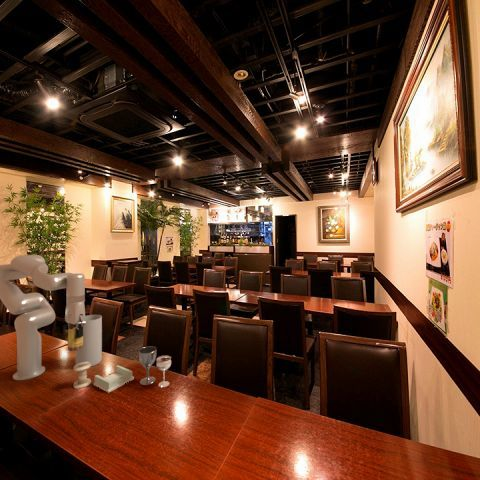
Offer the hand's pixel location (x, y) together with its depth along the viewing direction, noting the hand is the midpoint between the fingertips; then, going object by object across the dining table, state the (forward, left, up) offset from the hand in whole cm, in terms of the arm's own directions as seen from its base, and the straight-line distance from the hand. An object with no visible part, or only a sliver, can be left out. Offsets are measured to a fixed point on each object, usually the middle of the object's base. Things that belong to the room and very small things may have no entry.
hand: (75, 335), depth 123 cm
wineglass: (+40, +19, -22) cm, 50 cm away
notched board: (+18, +8, -22) cm, 30 cm away
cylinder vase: (-12, +12, -22) cm, 28 cm away
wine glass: (+31, +17, -22) cm, 42 cm away
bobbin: (+7, -1, -22) cm, 23 cm away
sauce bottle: (0, 0, -7) cm, 7 cm away
